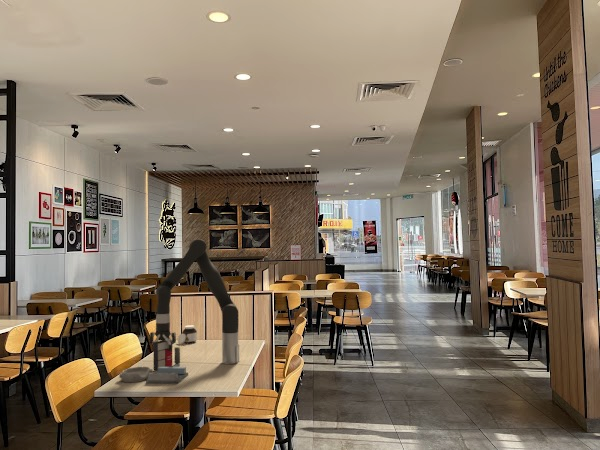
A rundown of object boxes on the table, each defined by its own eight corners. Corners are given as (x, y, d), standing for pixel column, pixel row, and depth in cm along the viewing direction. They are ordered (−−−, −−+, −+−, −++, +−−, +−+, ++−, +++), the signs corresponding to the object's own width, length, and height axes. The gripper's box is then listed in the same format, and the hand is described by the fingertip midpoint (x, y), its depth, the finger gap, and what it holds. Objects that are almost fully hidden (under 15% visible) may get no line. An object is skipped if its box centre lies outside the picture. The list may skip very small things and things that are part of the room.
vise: (158, 375, 253) (158, 366, 253) (188, 375, 251) (188, 366, 251) (146, 383, 237) (146, 374, 238) (177, 383, 236) (177, 374, 236)
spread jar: (198, 341, 344) (198, 325, 344) (191, 345, 333) (191, 327, 333) (183, 341, 347) (183, 325, 347) (175, 344, 336) (175, 327, 336)
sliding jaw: (165, 368, 260) (165, 347, 261) (190, 368, 259) (190, 347, 259) (157, 373, 249) (157, 351, 250) (183, 373, 248) (183, 351, 249)
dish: (155, 376, 251) (155, 366, 251) (140, 383, 237) (140, 373, 238) (130, 375, 254) (130, 365, 254) (114, 382, 241) (114, 372, 241)
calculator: (158, 371, 261) (158, 343, 262) (152, 370, 264) (152, 342, 264) (173, 366, 271) (173, 339, 271) (167, 365, 273) (167, 339, 274)
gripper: (177, 320, 271) (177, 350, 271) (153, 320, 273) (153, 349, 272) (172, 322, 264) (172, 353, 263) (147, 322, 266) (147, 352, 265)
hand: (162, 351), depth 268 cm, fingers open, 8 cm apart
